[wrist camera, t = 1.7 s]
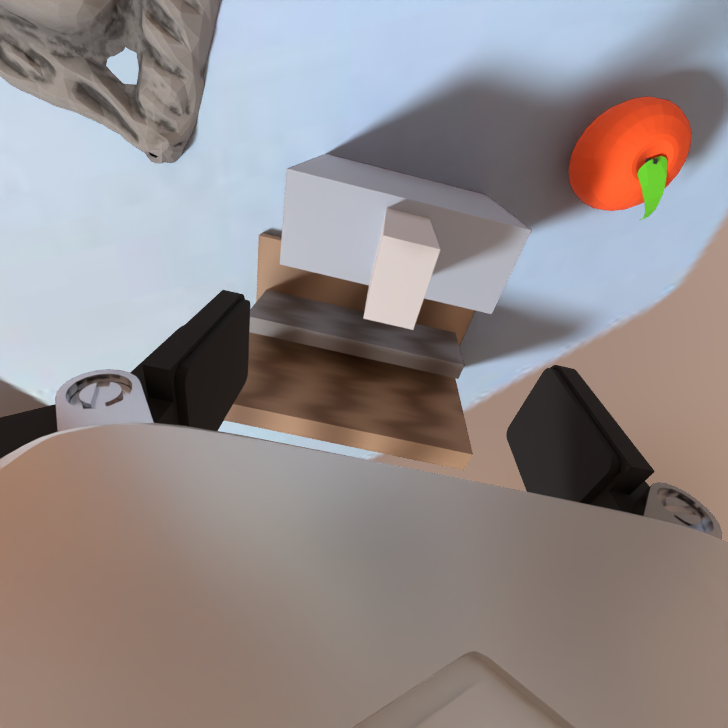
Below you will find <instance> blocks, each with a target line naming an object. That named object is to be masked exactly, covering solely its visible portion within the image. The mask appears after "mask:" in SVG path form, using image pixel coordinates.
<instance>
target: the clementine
mask: <svg viewBox="0 0 728 728" xmlns="http://www.w3.org/2000/svg"><path fill="white" fill-rule="evenodd" d="M691 134H692V133H691V129H690V124H689V121H688V119H687V118H686V116H685V115H684V113H683V112H682V110H681V109H680V107H679V106H677V105H675V104H674V103H672V102H671V101H669V100H665V99H659V98H654V97H641V98H633V99H630V100H628V101H625V102H623V103H621V104H618V105H616V106H613V107H611V108H609V109H608V110H607V111H605V112H604V113H602V114H601V115H599V116H598V117H597V118H596V119H595V120H594V121H593V122H592V123H591V124H590V125H589V126H588V127H587V128H586V129H585V131H584V132H583V134H582V135H581V137H580V138H579V140H578V141H577V143H576V145H575V148H574V150H573V152H572V155H571V159H570V165H569V182H570V184H571V187H572V189H573V192H574V193H575V194H576V195H577V196H578V198H579V199H580V200H581V201H582V202H584V203H585V204H587V205H589V206H591V207H592V208H596V209H602V210H609V211H614V210H624V209H627V208H630V207H633V206H636V205H639V204H641V203H644V202H645V215H644V218H646V217H648V216H649V215H650V214H651V213H652V212H653V211H654V210H655V209H656V207H657V205H658V203H659V201H660V199H661V197H662V194H663V191H664V188H666V187H667V186H668V185H669V184H670V182H671V181H672V180H673V179H674V178H675V177H676V175H677V174H678V173H679V171H680V169H681V168H682V166H683V164H684V162H685V161H686V158H687V155H688V152H689V149H690V145H691ZM644 218H642V219H644ZM642 219H640V220H642Z"/></svg>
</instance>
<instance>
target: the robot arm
mask: <svg viewBox="0 0 728 728" xmlns="http://www.w3.org/2000/svg"><path fill="white" fill-rule="evenodd" d="M249 329H250V302H249V301H248V300H245V298H244V295H243V294H239V293H234V292H230V291H225V290H223V291H221V292H220V293H219V294H218V295H217V296H216V297H215V298H214V299H212V300H211V301H210V302H209V303H208V304H207V305H206V306H205V307H204V308H203V309H202V310H201V311H199V312H198V313H197V314H196V315H195V316H194V317H193V318H192V319H191V320H190V321H189V322H188V323H186V324H185V325H184V326H182V327H180V328H179V329H178V330H177V331H175V332H174V333H173V334H172V335H171V336H170V337H169V338H168V339H167V340H166V341H165V342H163V343H162V344H161V345H160V346H159V347H158V348H157V349H156V350H155V351H154V352H152V353H151V354H150V355H149V356H148V357H147V358H146V359H145V360H144V361H143V362H142V363H140V364H139V365H138V366H137V367H136V368H135V369H134V370H133V371H132V372H131V373H129V372H125V371H122V370H111V369H107V370H96V371H92V372H88V373H84V374H81V375H79V376H76V377H74V378H72V379H70V380H69V381H67V382H66V383H64V384H63V385H62V386H61V387H60V389H59V390H58V391H57V393H56V397H55V403H56V404H55V405H51V406H47V407H43V408H38V409H34V410H31V411H26V412H22V413H18V414H14V415H10V416H5V417H2V418H0V728H728V542H726V541H724V540H722V531H721V527H720V524H719V523H718V521H717V520H716V518H715V517H714V516H713V514H712V513H711V512H710V511H709V510H708V509H707V508H706V507H705V506H704V505H703V504H701V503H700V502H699V501H698V500H697V499H695V498H694V497H692V496H691V495H690V494H688V493H686V492H685V491H683V490H681V489H679V488H677V487H675V486H672V485H669V484H667V483H661V482H658V483H653V484H652V485H651V486H650V487H649V486H648V484H647V483H646V482H645V480H646V479H647V478H648V477H649V476H650V475H652V473H654V470H653V469H652V467H651V466H650V465H649V464H648V462H647V461H646V460H645V459H644V457H643V456H642V455H641V453H640V452H639V451H638V449H637V448H636V447H635V446H634V445H633V443H632V442H631V440H630V439H629V438H628V437H627V435H626V434H625V433H624V431H623V430H622V429H621V428H620V426H619V425H618V424H617V422H616V421H615V420H614V419H613V417H612V416H611V415H610V413H609V412H608V411H607V410H606V408H605V407H604V406H603V404H602V403H601V402H600V401H599V399H598V398H597V397H596V396H595V394H594V393H593V392H592V390H591V389H590V388H589V386H588V385H587V384H586V383H585V381H584V380H583V379H582V378H581V376H580V375H579V374H578V372H577V371H576V370H575V369H571V368H567V367H562V366H558V365H554V366H552V367H551V368H547V369H545V370H544V372H543V373H542V375H541V376H540V378H539V380H538V381H537V383H536V384H535V386H534V388H533V389H532V391H531V392H530V394H529V395H528V397H527V399H526V400H525V402H524V403H523V405H522V407H521V408H520V410H519V412H518V413H517V415H516V416H515V418H514V419H513V421H512V423H511V424H510V426H509V428H508V430H507V440H508V443H509V445H510V448H511V450H512V453H513V456H514V458H515V461H516V464H517V466H518V469H519V472H520V475H521V477H522V480H523V482H524V485H525V487H526V490H527V492H525V491H520V490H515V489H510V488H505V487H500V486H495V485H490V484H485V483H480V482H475V481H470V480H465V479H460V478H455V477H450V476H445V475H440V474H435V473H430V472H425V471H420V470H415V469H410V468H405V467H400V466H395V465H390V464H385V463H380V462H375V461H370V460H365V459H360V458H355V457H350V456H345V455H340V454H335V453H330V452H325V451H320V450H315V449H309V448H304V447H299V446H294V445H289V444H284V443H279V442H273V441H268V440H263V439H258V438H253V437H248V436H243V435H237V434H231V433H225V432H219V431H218V429H219V427H220V426H221V424H222V422H223V421H224V419H225V417H226V415H227V414H228V412H229V410H230V409H231V407H232V405H233V404H234V402H235V400H236V398H237V397H238V395H239V393H240V392H241V390H242V388H243V386H244V385H245V383H246V380H247V376H248V360H249Z"/></svg>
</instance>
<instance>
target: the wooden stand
mask: <svg viewBox="0 0 728 728" xmlns="http://www.w3.org/2000/svg"><path fill="white" fill-rule="evenodd" d="M281 238H282V237H278V236H274V235H270V234H266V233H261V234H260V235H259V248H258V274H257V301H256V303H255V304H254V306H253V307H252V308H251V309H250V329H249V360H248V376H247V380H246V383H245V385H244V386H243V388H242V390H241V392H240V393H239V395H238V397H237V398H236V400H235V402H234V404H233V405H232V407H231V409H230V410H229V412H228V414H227V415H226V417H225V419H224V420H225V421H230V422H235V423H240V424H245V425H249V426H254V427H259V428H264V429H269V430H273V431H278V432H283V433H288V434H293V435H297V436H302V437H307V438H312V439H317V440H321V441H326V442H331V443H336V444H341V445H345V446H350V447H355V448H360V449H365V450H369V451H374V452H379V453H384V454H389V455H393V456H398V457H403V458H409V459H413V460H417V461H422V462H427V463H432V464H437V465H441V466H447V467H451V468H456V469H461V470H464V468H465V467H466V465H467V464H468V462H469V460H470V458H471V457H472V454H473V453H472V449H471V445H470V440H469V436H468V432H467V427H466V423H465V419H464V414H463V410H462V406H461V401H460V397H459V393H458V388H457V384H456V380H455V378H457V379H458V378H459V376H460V374H461V372H462V370H463V367H464V361H463V358H462V354H461V351H460V347H459V346H460V344H461V342H462V340H463V337H464V335H465V333H466V330H467V328H468V326H469V324H470V321H471V319H472V317H473V315H474V312H475V310H471V309H467V308H463V307H459V306H454V305H450V304H446V303H442V302H437V301H433V300H429V299H425V298H424V299H423V302H422V305H421V308H420V311H419V314H418V317H417V320H416V323H415V326H414V329H413V330H411V329H407V328H403V327H398V326H394V325H390V324H385V323H381V322H376V321H372V320H368V319H363V317H364V312H365V306H366V300H367V294H368V289H369V285H365V284H361V283H357V282H353V281H348V280H344V279H340V278H336V277H331V276H327V275H323V274H319V273H314V272H310V271H306V270H302V269H297V268H293V267H289V266H285V265H280V252H281Z"/></svg>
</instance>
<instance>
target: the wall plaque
mask: <svg viewBox="0 0 728 728" xmlns="http://www.w3.org/2000/svg"><path fill="white" fill-rule="evenodd" d="M219 1H220V0H0V76H1V77H2V78H3V79H5V80H6V81H7V82H8V83H9V84H10V85H12V86H14V87H16V88H18V89H20V90H21V91H24V92H26V93H29V94H31V95H33V96H35V97H37V98H39V99H41V100H44V101H46V102H48V103H50V104H52V105H54V106H57V107H60V108H64V109H67V110H70V111H73V112H76V113H78V114H80V115H83V116H85V117H87V118H90V119H92V120H94V121H96V122H98V123H100V124H103V125H104V126H106V127H107V128H109V129H111V130H113V131H114V132H116V133H118V134H120V135H121V136H122V137H123V138H124V139H125V140H127V141H128V142H129V143H131V144H132V145H133V146H135V147H136V148H138V149H139V150H141V151H142V152H144V153H145V154H146V155H147V157H148V158H149V159H150V160H151V161H152V162H154V163H164V162H167V163H173V162H175V161H177V159H178V158H179V157H180V156H181V155H182V154H183V149H184V147H185V146H186V144H187V143H188V141H189V139H190V137H191V135H192V132H193V129H194V127H195V124H196V121H197V117H198V112H199V108H200V104H201V100H202V95H203V90H204V85H205V84H204V69H205V65H206V61H207V57H208V52H209V48H210V45H211V41H212V37H213V32H214V27H215V22H216V18H217V13H218V7H219ZM125 47H126V48H128V49H130V50H131V51H134V52H136V53H137V59H138V64H139V73H138V81H137V85H132V84H123V83H122V82H121V81H120V80H119V79H118V78H117V77H116V76H115V75H114V74H113V73H112V72H111V71H110V70H109V69H108V68H107V66H106V62H107V59H108V58H109V57H110V56H115V55H116V54H118V53H120V52H121V51H123V50H124V48H125ZM156 155H157V156H156Z"/></svg>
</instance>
